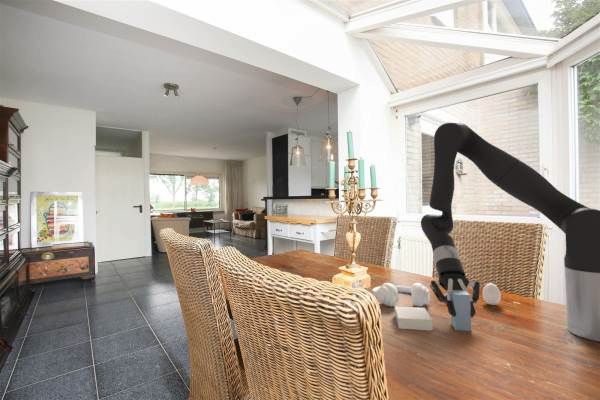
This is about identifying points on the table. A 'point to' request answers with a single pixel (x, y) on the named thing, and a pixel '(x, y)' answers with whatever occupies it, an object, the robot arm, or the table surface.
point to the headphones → (390, 292)
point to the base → (413, 318)
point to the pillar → (461, 310)
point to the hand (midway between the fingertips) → (463, 315)
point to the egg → (491, 294)
